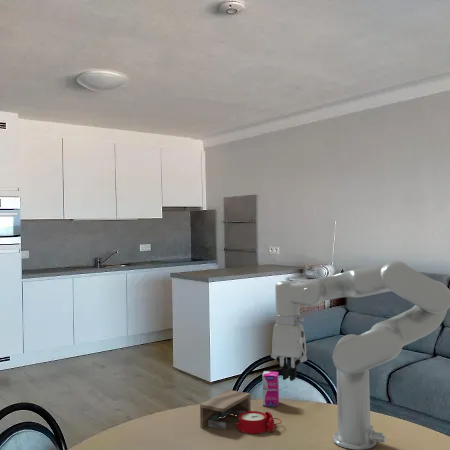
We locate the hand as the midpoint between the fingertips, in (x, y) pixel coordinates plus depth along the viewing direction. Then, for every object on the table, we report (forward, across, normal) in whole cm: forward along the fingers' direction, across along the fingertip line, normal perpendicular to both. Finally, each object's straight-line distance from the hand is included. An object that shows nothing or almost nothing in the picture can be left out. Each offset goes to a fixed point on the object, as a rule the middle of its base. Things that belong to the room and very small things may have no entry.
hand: (289, 378), depth 152 cm
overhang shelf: (+17, +24, 0) cm, 29 cm away
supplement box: (+17, +18, -23) cm, 34 cm away
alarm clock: (+18, +12, 0) cm, 21 cm away
